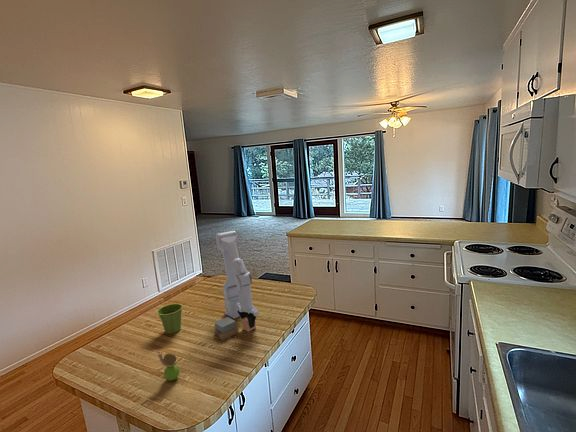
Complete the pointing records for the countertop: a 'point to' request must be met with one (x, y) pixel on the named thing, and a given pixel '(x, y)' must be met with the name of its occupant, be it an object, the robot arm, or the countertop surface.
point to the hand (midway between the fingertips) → (248, 325)
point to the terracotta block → (247, 324)
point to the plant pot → (171, 317)
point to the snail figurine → (169, 366)
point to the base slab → (227, 334)
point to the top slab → (225, 324)
